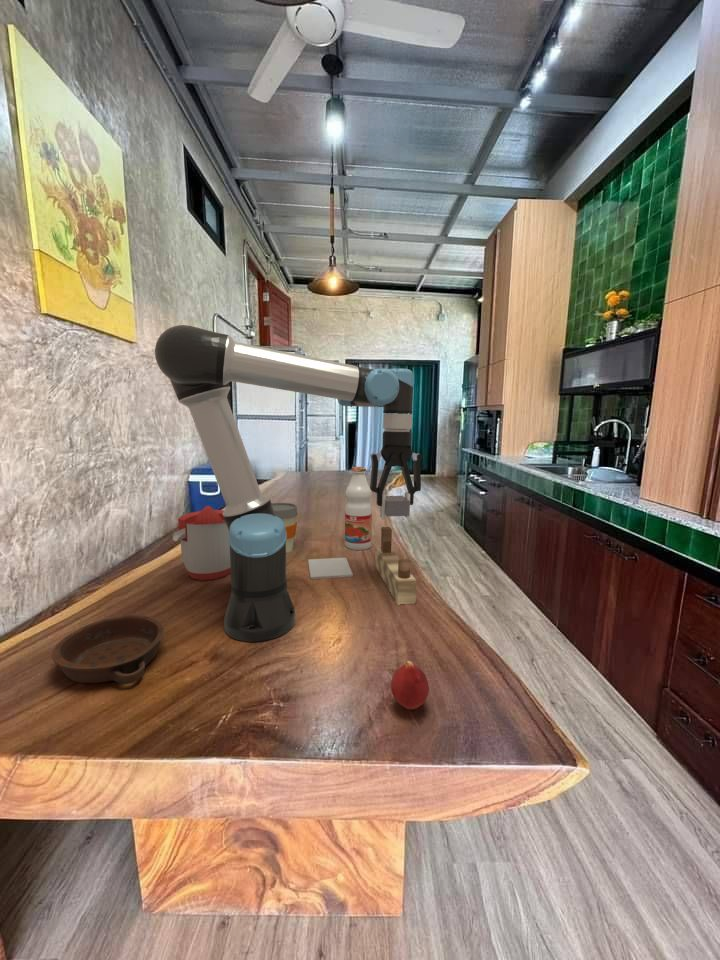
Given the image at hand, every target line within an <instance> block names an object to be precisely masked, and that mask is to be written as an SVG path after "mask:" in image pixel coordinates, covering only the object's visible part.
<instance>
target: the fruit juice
mask: <svg viewBox="0 0 720 960" xmlns="http://www.w3.org/2000/svg"><path fill="white" fill-rule="evenodd" d="M366 472H367V468H366V467H363V466H354V467H353V466H352V468H351V473H352V476H351V478H350V481H349V484H348V485H347V486H346V489H345V492H344V493H345V499H346V502H345V507H344V545H345V548H347V549H350V550H352V551H364V550H367V549H370V548H371V546H372V533H373V532H372V531H373V530H372V529H373V528H372V525H373V522H372V521H373V519H372V517H373V508H372V503H371V499H372V495H373V493H372V492H373V491H371V490H370V484H369V482H368V480H367V479H368V478H367V476H366Z"/></svg>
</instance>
